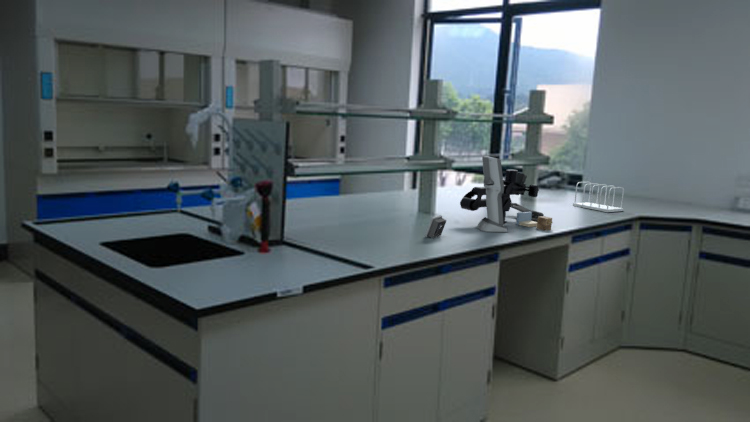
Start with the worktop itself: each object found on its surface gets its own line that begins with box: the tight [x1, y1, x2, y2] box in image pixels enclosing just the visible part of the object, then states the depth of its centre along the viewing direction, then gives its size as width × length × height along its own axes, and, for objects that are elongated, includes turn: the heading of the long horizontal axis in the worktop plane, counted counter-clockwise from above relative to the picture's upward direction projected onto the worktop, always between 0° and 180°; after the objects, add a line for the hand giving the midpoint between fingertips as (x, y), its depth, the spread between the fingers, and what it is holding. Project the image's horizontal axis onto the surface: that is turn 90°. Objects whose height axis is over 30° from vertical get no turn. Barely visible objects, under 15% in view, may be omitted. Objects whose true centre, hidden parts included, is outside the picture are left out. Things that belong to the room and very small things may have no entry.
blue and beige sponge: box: [515, 211, 537, 228], centre depth 306 cm, size 7×11×6 cm, turn 130°
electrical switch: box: [424, 215, 447, 239], centre depth 263 cm, size 9×5×9 cm, turn 147°
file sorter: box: [572, 181, 625, 213], centre depth 378 cm, size 25×17×16 cm
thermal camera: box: [476, 155, 508, 233], centre depth 285 cm, size 12×13×35 cm
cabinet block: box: [536, 215, 553, 231], centre depth 298 cm, size 6×5×6 cm
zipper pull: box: [510, 202, 545, 222], centre depth 324 cm, size 9×7×25 cm
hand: (531, 188), depth 323 cm, fingers open, 9 cm apart
